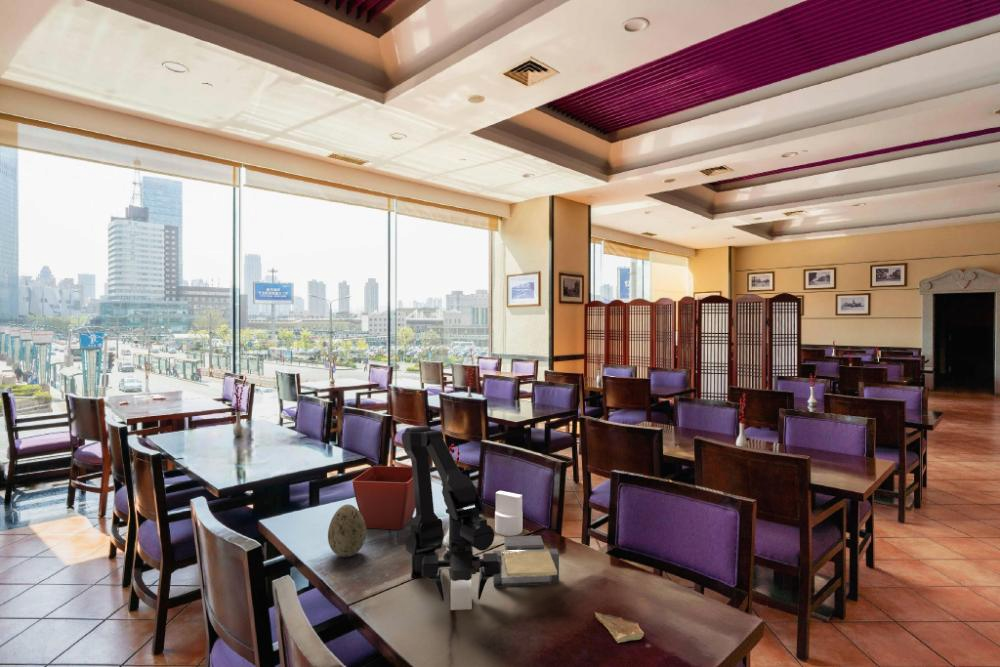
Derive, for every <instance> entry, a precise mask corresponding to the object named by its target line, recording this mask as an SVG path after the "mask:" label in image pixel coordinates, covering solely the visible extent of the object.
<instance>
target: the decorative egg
mask: <svg viewBox="0 0 1000 667" xmlns="http://www.w3.org/2000/svg"><path fill="white" fill-rule="evenodd" d="M327 530H328V531H327V541H328V545H329V548H330V549H331V551H332V552H333V553H334V554H335V555H336V556H338V557H341V558H349V557H352V556H355V555H356V554H357V553H359V551H360V550H361V549H362V548H363V546H364V544H365V541H366V538H367V528H366V525H365V521H364V519H363V517H362V515H361V513H360V512H359V509H357V508H356V507H355V506H354V505H352V504H349V503H348V504H344V505H341V506H339V508H337V510H336V511H335V513H334V514H333V516H332V518H331V520H330V523H329V527H328V529H327Z"/></svg>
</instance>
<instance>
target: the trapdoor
mask: <svg viewBox="0 0 1000 667" xmlns="http://www.w3.org/2000/svg"><path fill="white" fill-rule="evenodd" d="M503 539H504V543H503V544H504V546H503V547H504V550H502V551H501V555H502V557H503V562H504V566H505V570H506V571H505V572H506V576H507V577H531V576H549V575H557V570H556V567H555V565H554V562H553V560H552V557H551V555H550V551H549V549H550V548H545V544H544V542H543V541H544V540H543V538H542V536H541V535H518V536H517V535H513V536H504V538H503Z"/></svg>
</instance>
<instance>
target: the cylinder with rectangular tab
mask: <svg viewBox="0 0 1000 667" xmlns="http://www.w3.org/2000/svg"><path fill="white" fill-rule="evenodd" d="M522 532H523V494H518V493H514V492H509V491H504V490H498V491H496V492H495V511H494V533H496V534H498V535H500V536H504V537H511V536H517V535H518V536H519V535H520V534H521V533H522Z"/></svg>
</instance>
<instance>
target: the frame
mask: <svg viewBox="0 0 1000 667" xmlns="http://www.w3.org/2000/svg"><path fill="white" fill-rule="evenodd" d="M548 549H549V551H550V555H551V557H552V560H553V562H554V565H555V567H556V570H557V575H541V576H516V577H502V576H503V575H502V572H503V570H502V569H503V568H502V567H503V566H502V564H503V560H502V557H503V556H502V551H501V550H493V551H492V553H497V554H498V555H499V559H500V573H499V574H494V576H493V577H492V582H493V583H492V584H493V588H494V587H499V588H500V587H518V586H543V585H547V586H548V585H559V584H560V553H559V551H558V548H548Z"/></svg>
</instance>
